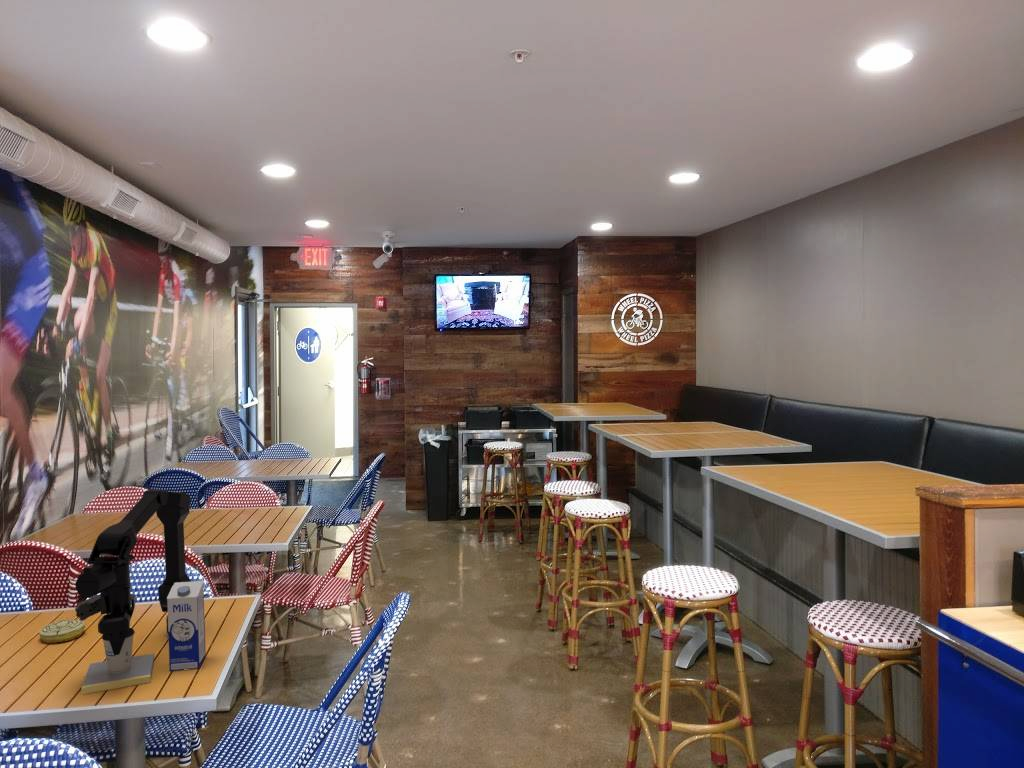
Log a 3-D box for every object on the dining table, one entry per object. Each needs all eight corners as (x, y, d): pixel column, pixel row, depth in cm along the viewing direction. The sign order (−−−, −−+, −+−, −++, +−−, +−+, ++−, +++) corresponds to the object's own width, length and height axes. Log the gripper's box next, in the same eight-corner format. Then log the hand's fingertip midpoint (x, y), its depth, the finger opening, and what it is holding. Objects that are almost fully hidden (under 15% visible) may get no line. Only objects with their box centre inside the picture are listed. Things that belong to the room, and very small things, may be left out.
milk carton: (206, 657, 181) (204, 579, 180) (199, 668, 174) (197, 588, 173) (176, 659, 179) (174, 581, 179) (168, 671, 173) (166, 590, 172)
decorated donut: (69, 627, 202) (68, 614, 202) (93, 633, 197) (93, 620, 197) (31, 641, 193) (30, 627, 192) (55, 648, 188) (55, 634, 188)
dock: (154, 659, 180) (153, 653, 180) (150, 682, 167) (150, 676, 167) (90, 669, 174) (90, 663, 174) (81, 694, 161) (81, 688, 161)
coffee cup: (132, 660, 176) (131, 621, 175) (138, 670, 170) (137, 629, 170) (100, 668, 171) (99, 628, 171) (105, 679, 166) (104, 636, 165)
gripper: (83, 576, 175) (85, 638, 176) (70, 600, 158) (73, 669, 159) (134, 570, 179) (136, 631, 180) (127, 593, 162) (129, 660, 163)
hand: (118, 647), depth 170 cm, fingers open, 9 cm apart
